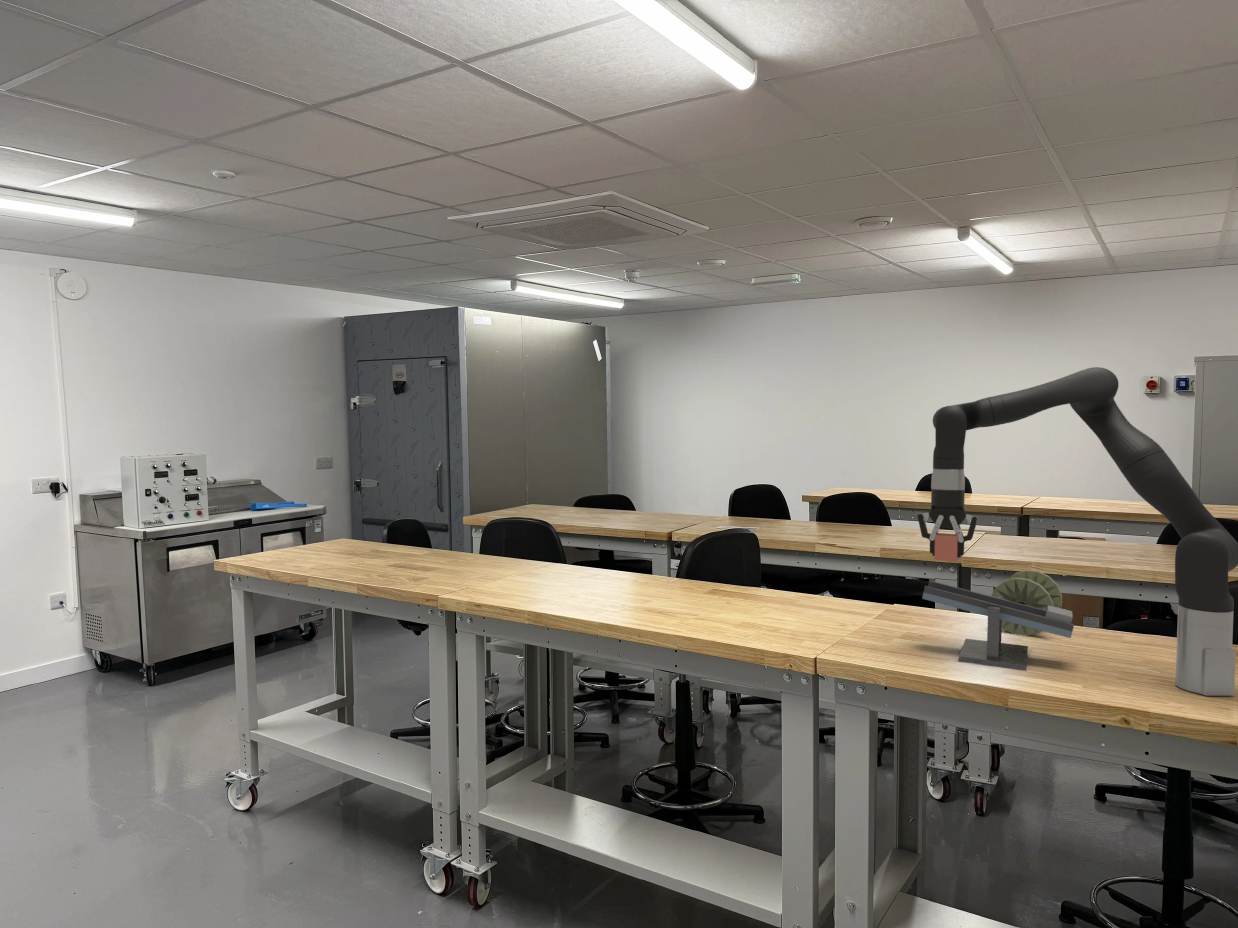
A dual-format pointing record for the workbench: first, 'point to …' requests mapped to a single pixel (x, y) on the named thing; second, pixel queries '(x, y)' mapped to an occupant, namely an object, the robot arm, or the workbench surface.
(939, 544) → the block
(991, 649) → the pivot stand
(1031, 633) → the spool
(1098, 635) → the workbench surface
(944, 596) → the balance beam
